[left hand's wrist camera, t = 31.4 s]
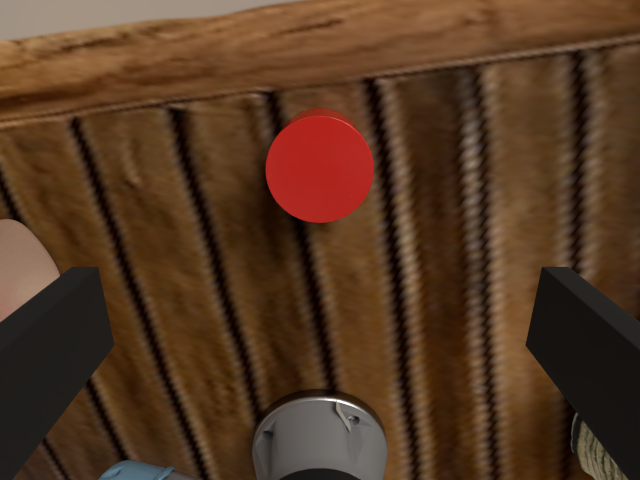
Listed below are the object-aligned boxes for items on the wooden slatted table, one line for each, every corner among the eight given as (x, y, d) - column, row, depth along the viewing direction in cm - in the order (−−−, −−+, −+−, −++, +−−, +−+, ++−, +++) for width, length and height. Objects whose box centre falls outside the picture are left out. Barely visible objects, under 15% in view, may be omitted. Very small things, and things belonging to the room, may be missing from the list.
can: (381, 164, 38) (394, 183, 31) (310, 213, 39) (308, 242, 32) (329, 88, 35) (332, 91, 28) (257, 144, 37) (243, 160, 30)
